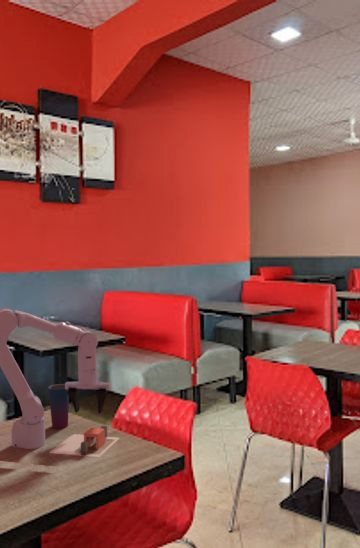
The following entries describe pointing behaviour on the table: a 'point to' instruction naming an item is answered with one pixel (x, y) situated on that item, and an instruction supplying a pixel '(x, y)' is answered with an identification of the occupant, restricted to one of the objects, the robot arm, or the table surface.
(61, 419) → the cup
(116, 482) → the table surface
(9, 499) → the table surface
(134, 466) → the table surface
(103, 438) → the orange u-shaped block
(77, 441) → the pink flat square base
